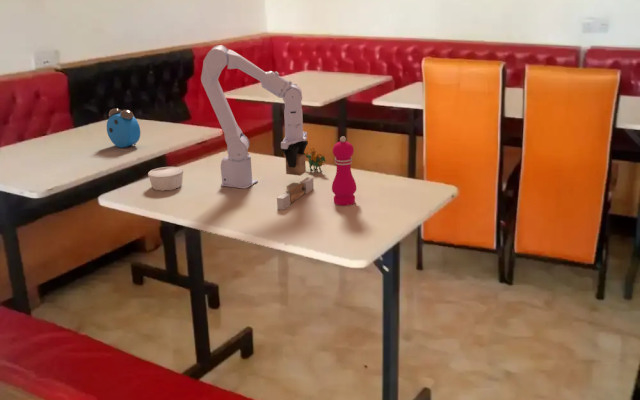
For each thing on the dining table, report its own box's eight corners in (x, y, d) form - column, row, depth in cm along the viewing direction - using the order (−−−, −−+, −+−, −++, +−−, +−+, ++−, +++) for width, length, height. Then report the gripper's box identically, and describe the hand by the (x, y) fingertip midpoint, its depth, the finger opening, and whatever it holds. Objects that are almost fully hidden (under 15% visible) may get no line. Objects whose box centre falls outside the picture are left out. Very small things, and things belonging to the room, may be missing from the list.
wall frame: (277, 209, 196) (276, 196, 194) (307, 187, 213) (307, 176, 211) (283, 209, 195) (282, 197, 194) (313, 188, 212) (313, 176, 211)
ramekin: (172, 179, 226) (170, 164, 225) (191, 186, 219) (190, 170, 217) (143, 187, 219) (141, 172, 217) (161, 194, 212) (159, 179, 210)
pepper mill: (349, 207, 195) (347, 140, 188) (327, 203, 198) (325, 138, 191) (361, 200, 200) (360, 134, 194) (340, 196, 204) (338, 132, 197)
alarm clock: (142, 146, 267) (138, 109, 262) (131, 150, 262) (125, 112, 257) (120, 142, 274) (115, 106, 268) (108, 146, 269) (102, 109, 264)
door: (288, 202, 200) (287, 192, 199) (301, 192, 208) (301, 183, 207) (293, 202, 200) (293, 192, 199) (306, 193, 207) (306, 183, 206)
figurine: (322, 175, 224) (321, 151, 222) (299, 167, 233) (297, 145, 230) (329, 172, 226) (328, 149, 223) (305, 165, 235) (304, 143, 232)
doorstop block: (286, 173, 217) (285, 156, 215) (292, 170, 220) (291, 152, 218) (300, 175, 215) (299, 157, 213) (305, 172, 218) (305, 154, 216)
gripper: (294, 130, 204) (296, 172, 209) (315, 119, 216) (316, 160, 221) (274, 128, 207) (276, 170, 212) (295, 117, 219) (297, 158, 224)
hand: (295, 165), depth 217 cm, fingers closed on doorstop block, 4 cm apart
